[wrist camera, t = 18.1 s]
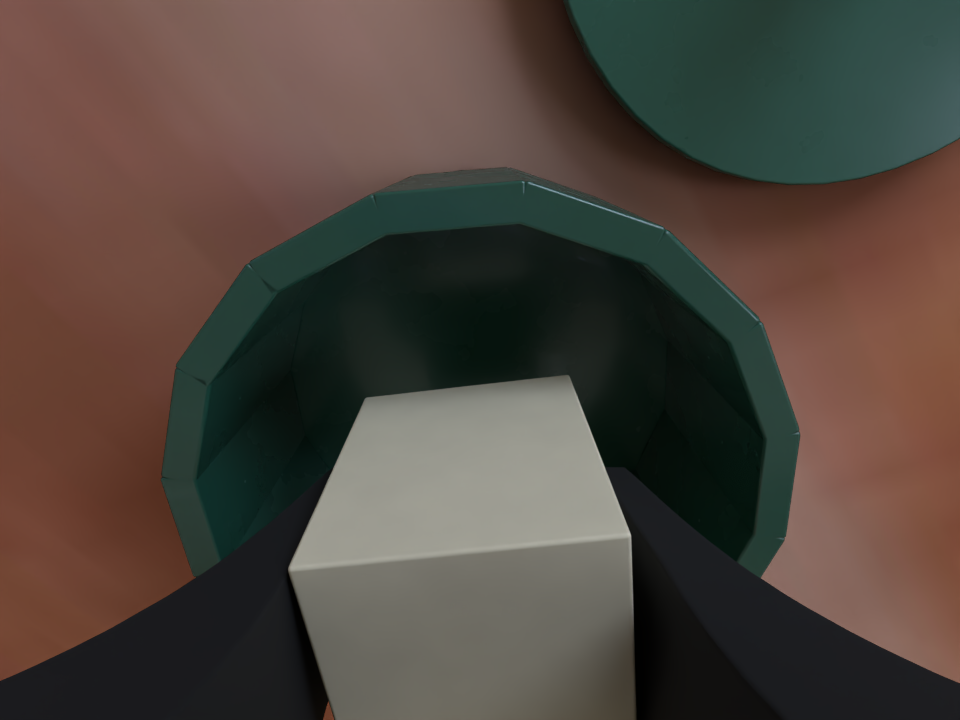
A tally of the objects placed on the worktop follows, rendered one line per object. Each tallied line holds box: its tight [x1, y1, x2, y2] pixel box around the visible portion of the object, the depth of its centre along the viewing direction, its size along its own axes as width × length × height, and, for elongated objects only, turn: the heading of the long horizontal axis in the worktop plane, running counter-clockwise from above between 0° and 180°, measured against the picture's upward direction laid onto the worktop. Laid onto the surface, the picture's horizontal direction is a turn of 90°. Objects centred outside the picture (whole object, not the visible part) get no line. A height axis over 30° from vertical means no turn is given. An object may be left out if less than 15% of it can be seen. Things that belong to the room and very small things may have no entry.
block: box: [288, 375, 637, 720], centre depth 10 cm, size 4×4×5 cm
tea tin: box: [161, 167, 800, 578], centre depth 14 cm, size 13×13×6 cm
